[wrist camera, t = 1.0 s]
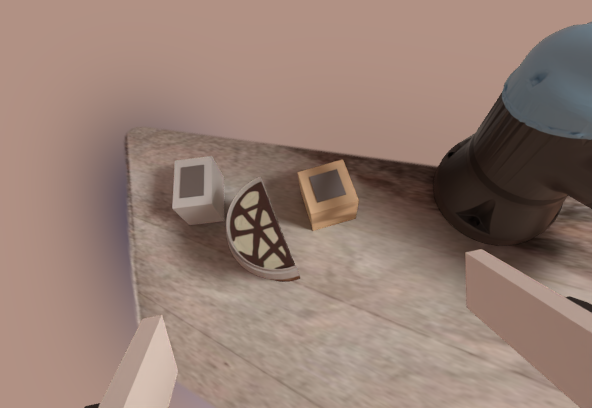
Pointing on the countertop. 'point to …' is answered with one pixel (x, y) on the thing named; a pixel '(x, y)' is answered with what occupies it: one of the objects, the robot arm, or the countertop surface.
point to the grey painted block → (198, 190)
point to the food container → (258, 235)
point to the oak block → (328, 194)
